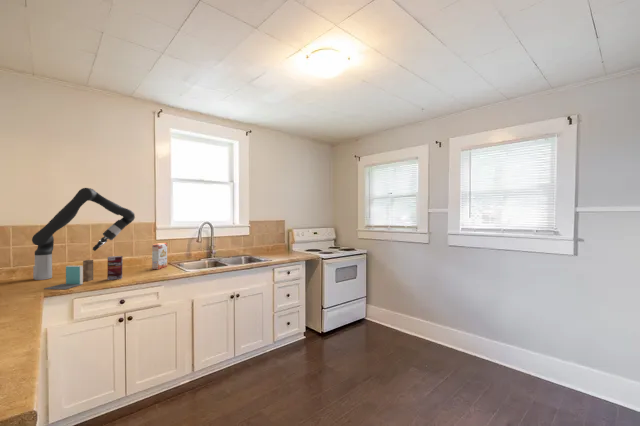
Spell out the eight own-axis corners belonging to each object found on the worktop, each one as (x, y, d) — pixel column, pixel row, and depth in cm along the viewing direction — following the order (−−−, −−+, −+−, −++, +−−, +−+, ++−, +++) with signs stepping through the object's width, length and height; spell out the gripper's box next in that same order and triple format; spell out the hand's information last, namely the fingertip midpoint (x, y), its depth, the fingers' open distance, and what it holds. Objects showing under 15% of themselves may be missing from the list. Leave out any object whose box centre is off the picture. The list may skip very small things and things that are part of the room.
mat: (44, 289, 186) (44, 288, 186) (62, 284, 198) (62, 283, 198) (65, 289, 185) (65, 288, 185) (82, 284, 197) (82, 284, 197)
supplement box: (107, 280, 211) (107, 257, 211) (108, 278, 215) (108, 256, 215) (121, 278, 215) (121, 256, 215) (122, 277, 219) (122, 255, 219)
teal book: (65, 284, 198) (65, 266, 198) (68, 283, 201) (68, 265, 201) (79, 284, 198) (79, 266, 198) (82, 283, 200) (82, 265, 200)
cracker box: (158, 269, 250) (158, 244, 250) (151, 269, 250) (151, 244, 250) (167, 266, 264) (167, 242, 264) (160, 266, 264) (160, 242, 264)
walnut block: (83, 281, 208) (83, 260, 208) (88, 279, 212) (87, 259, 212) (88, 281, 208) (88, 260, 208) (93, 279, 212) (93, 259, 212)
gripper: (106, 230, 227) (88, 247, 218) (108, 227, 216) (89, 245, 207) (115, 236, 230) (98, 253, 221) (117, 234, 219) (99, 251, 210)
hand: (93, 249), depth 214 cm, fingers open, 8 cm apart
